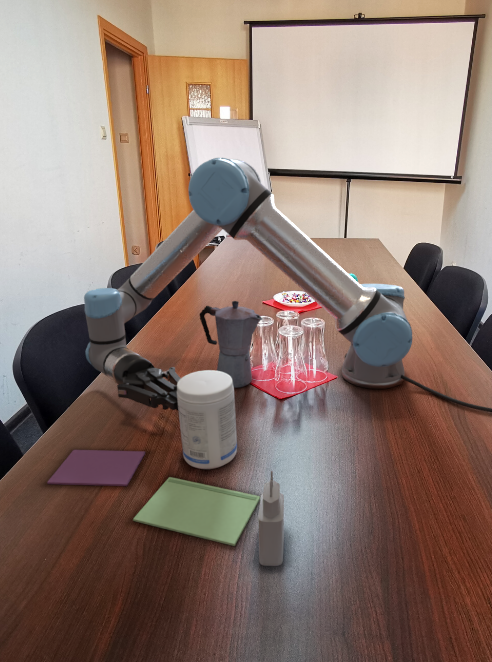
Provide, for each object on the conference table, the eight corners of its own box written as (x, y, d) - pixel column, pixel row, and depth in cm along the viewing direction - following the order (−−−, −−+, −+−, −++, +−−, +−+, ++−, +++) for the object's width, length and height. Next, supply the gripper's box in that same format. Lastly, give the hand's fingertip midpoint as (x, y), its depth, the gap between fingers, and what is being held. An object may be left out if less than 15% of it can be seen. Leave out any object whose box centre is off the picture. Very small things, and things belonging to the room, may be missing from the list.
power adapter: (258, 565, 60) (257, 489, 56) (261, 533, 65) (260, 462, 61) (282, 565, 60) (282, 490, 56) (283, 534, 65) (284, 462, 61)
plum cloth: (145, 453, 82) (145, 451, 82) (126, 486, 74) (126, 484, 74) (73, 451, 83) (73, 449, 83) (47, 484, 74) (46, 482, 74)
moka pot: (257, 392, 105) (256, 308, 98) (194, 385, 108) (188, 304, 101) (268, 375, 114) (267, 297, 107) (209, 369, 116) (205, 293, 110)
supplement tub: (227, 435, 88) (224, 365, 83) (245, 462, 80) (242, 387, 75) (176, 447, 84) (170, 375, 79) (190, 478, 76) (183, 399, 71)
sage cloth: (260, 498, 72) (260, 495, 72) (234, 546, 63) (234, 543, 62) (169, 478, 76) (169, 476, 76) (133, 521, 67) (132, 518, 67)
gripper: (159, 377, 104) (222, 415, 89) (102, 396, 95) (161, 442, 80) (156, 346, 102) (220, 380, 86) (97, 363, 93) (157, 404, 77)
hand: (191, 410), depth 83 cm, fingers closed
